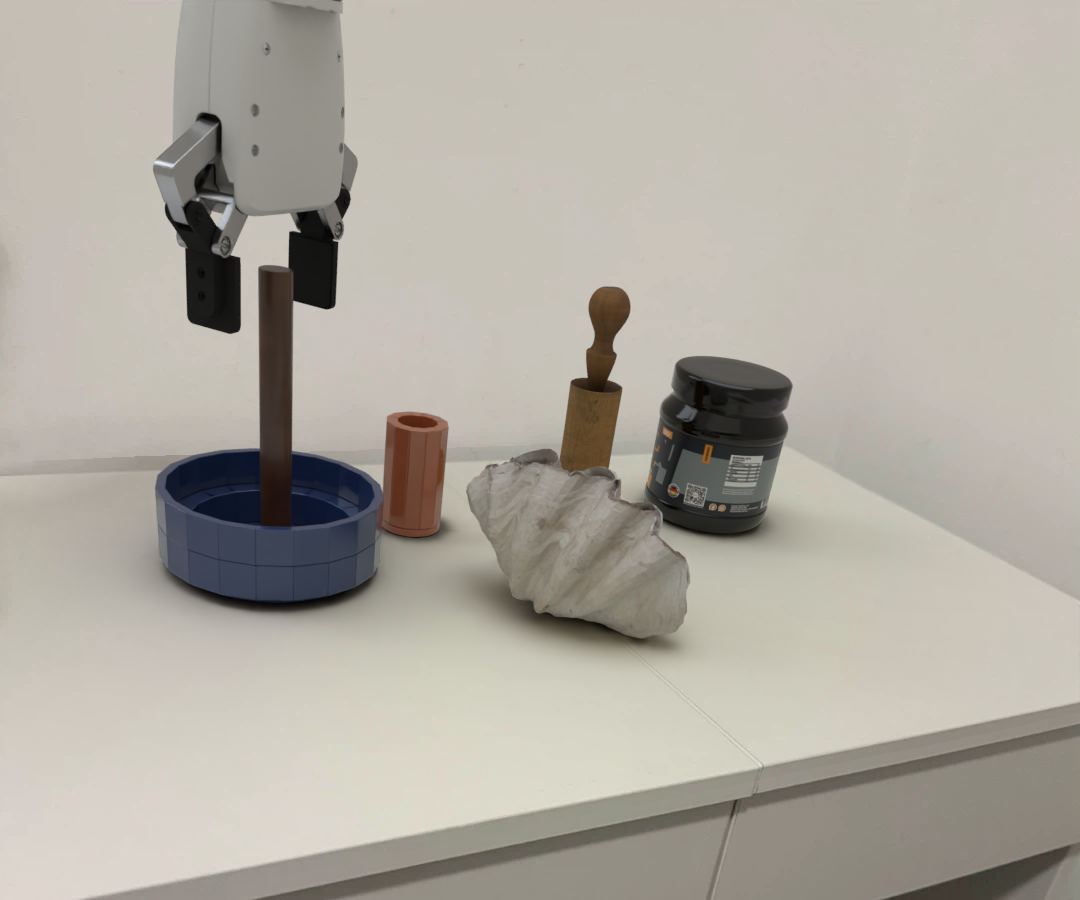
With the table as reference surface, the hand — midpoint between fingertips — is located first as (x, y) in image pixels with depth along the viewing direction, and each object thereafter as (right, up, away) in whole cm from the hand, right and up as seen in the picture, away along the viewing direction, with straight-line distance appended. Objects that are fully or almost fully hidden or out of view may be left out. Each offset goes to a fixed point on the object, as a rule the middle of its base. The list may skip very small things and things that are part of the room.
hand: (265, 315), depth 63 cm
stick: (-1, -13, +8) cm, 15 cm away
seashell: (+18, -17, +8) cm, 26 cm away
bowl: (-2, -14, +8) cm, 16 cm away
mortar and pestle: (+19, -9, +22) cm, 30 cm away
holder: (+7, -9, +17) cm, 21 cm away
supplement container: (+30, -7, +28) cm, 42 cm away
